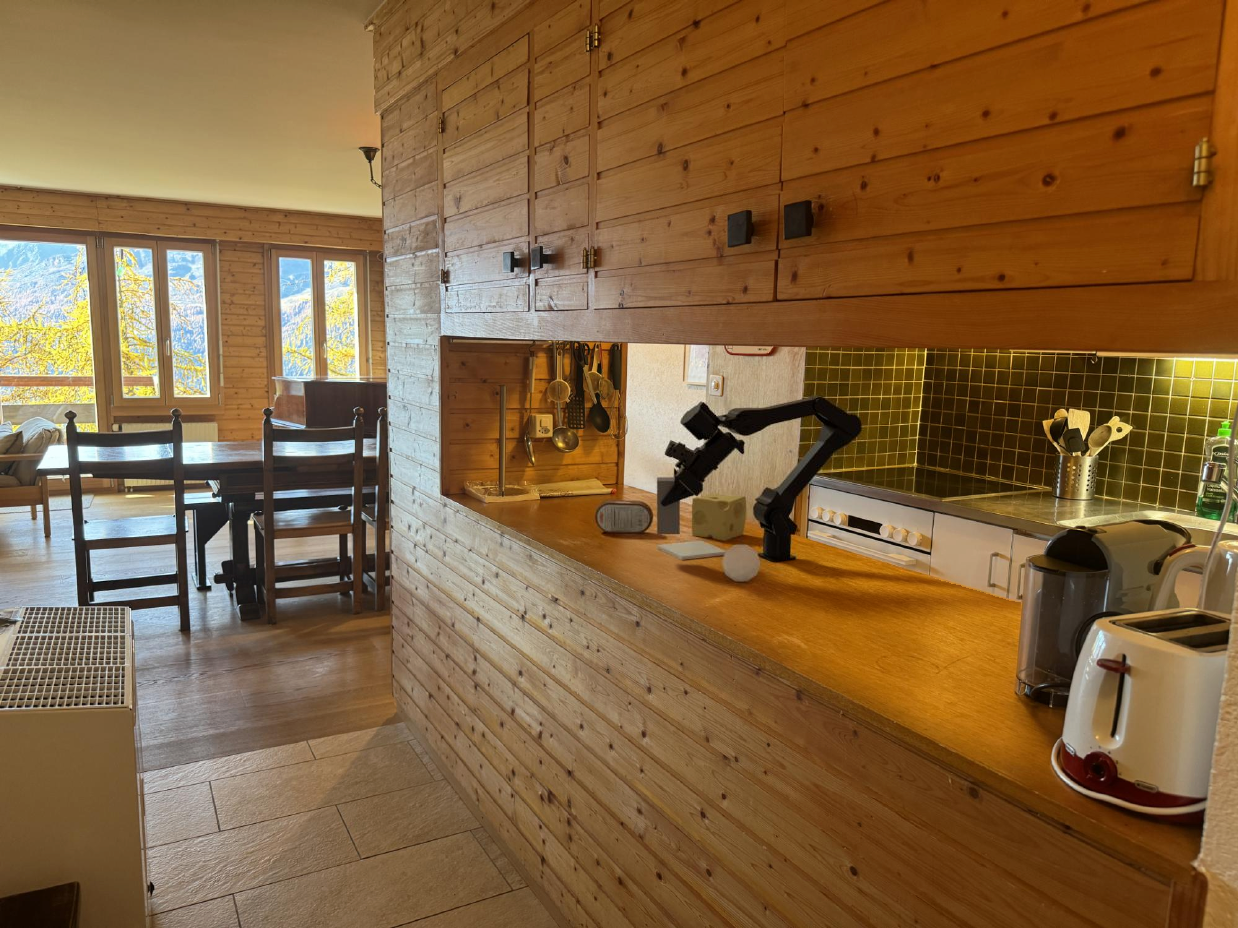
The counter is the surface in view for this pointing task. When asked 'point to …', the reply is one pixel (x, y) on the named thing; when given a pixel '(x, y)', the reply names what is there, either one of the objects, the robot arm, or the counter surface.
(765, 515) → the robot arm
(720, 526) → the cheese
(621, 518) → the tin
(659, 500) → the block
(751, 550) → the ball
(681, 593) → the counter surface
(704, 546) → the tile
